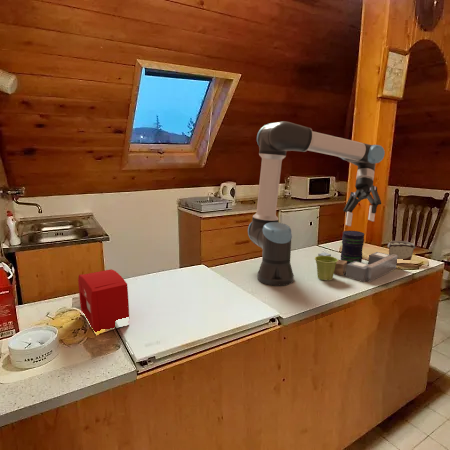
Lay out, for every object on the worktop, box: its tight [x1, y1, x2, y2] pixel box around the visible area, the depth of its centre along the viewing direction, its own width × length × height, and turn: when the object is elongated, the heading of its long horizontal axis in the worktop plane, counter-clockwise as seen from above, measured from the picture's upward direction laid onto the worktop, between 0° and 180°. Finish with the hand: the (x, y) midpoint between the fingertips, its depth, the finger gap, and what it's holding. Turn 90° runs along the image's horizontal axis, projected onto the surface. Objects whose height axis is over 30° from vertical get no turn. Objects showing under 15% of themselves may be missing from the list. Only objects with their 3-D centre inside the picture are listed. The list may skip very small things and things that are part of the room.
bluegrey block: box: [317, 251, 332, 257], centre depth 161 cm, size 4×4×6 cm
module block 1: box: [345, 261, 368, 282], centre depth 147 cm, size 8×7×6 cm
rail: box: [365, 254, 398, 283], centre depth 151 cm, size 2×25×6 cm, turn 131°
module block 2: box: [367, 251, 390, 265], centre depth 161 cm, size 8×8×6 cm
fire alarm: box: [77, 268, 130, 332], centre depth 108 cm, size 16×11×15 cm
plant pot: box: [314, 255, 339, 281], centre depth 146 cm, size 9×9×9 cm
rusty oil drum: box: [340, 230, 365, 264], centre depth 165 cm, size 10×10×15 cm
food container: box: [387, 240, 416, 261], centre depth 167 cm, size 12×6×10 cm, turn 84°
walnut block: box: [333, 259, 347, 276], centre depth 153 cm, size 5×6×5 cm
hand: (359, 223), depth 153 cm, fingers open, 13 cm apart
